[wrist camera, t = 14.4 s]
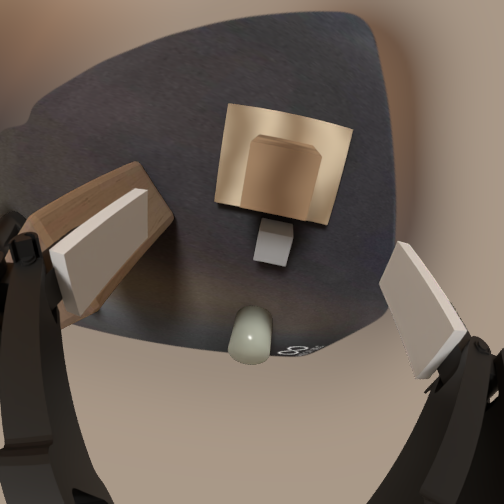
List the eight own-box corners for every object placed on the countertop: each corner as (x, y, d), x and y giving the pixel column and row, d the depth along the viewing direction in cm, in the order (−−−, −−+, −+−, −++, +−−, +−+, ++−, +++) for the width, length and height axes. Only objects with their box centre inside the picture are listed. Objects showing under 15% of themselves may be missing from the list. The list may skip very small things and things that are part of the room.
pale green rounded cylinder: (233, 328, 45) (226, 360, 39) (238, 302, 42) (230, 334, 36) (268, 335, 45) (265, 367, 39) (276, 309, 42) (273, 343, 36)
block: (179, 217, 36) (97, 315, 19) (132, 246, 39) (54, 336, 22) (139, 156, 32) (25, 214, 15) (96, 194, 35) (-1, 262, 18)
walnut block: (250, 184, 31) (239, 207, 24) (259, 134, 28) (250, 141, 21) (301, 194, 31) (305, 221, 24) (313, 145, 28) (322, 156, 21)
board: (217, 197, 34) (214, 201, 33) (231, 103, 28) (228, 103, 27) (325, 220, 34) (327, 225, 32) (349, 128, 28) (352, 129, 26)
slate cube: (256, 244, 37) (253, 259, 33) (262, 217, 35) (259, 230, 31) (285, 250, 37) (285, 266, 33) (292, 223, 35) (293, 237, 31)
